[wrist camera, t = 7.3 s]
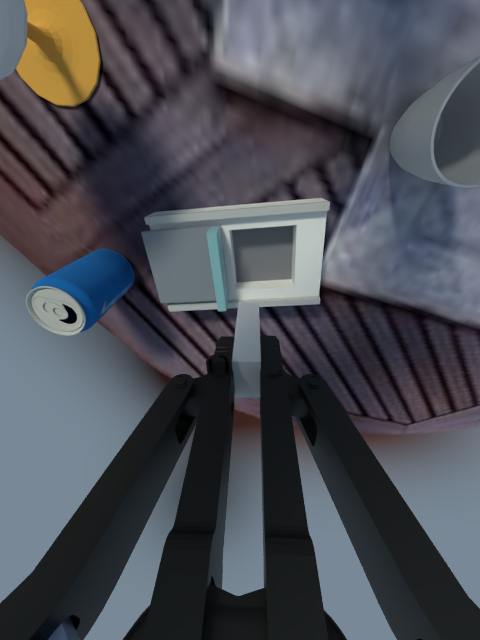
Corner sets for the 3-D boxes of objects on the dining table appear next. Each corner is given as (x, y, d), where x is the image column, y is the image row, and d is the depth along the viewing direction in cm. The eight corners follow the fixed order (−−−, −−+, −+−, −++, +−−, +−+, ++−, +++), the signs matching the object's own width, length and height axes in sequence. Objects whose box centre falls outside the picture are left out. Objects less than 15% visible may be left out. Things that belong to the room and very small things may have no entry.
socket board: (155, 211, 30) (143, 217, 27) (321, 197, 29) (329, 201, 25) (176, 298, 37) (169, 311, 33) (313, 291, 35) (319, 304, 32)
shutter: (143, 230, 28) (129, 239, 25) (220, 224, 28) (216, 232, 24) (162, 300, 33) (152, 314, 30) (229, 296, 32) (226, 311, 29)
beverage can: (129, 298, 37) (82, 347, 27) (86, 277, 36) (19, 322, 25) (142, 261, 34) (94, 302, 24) (95, 237, 32) (23, 270, 22)
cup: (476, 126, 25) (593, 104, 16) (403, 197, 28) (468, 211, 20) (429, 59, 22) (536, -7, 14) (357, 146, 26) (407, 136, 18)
